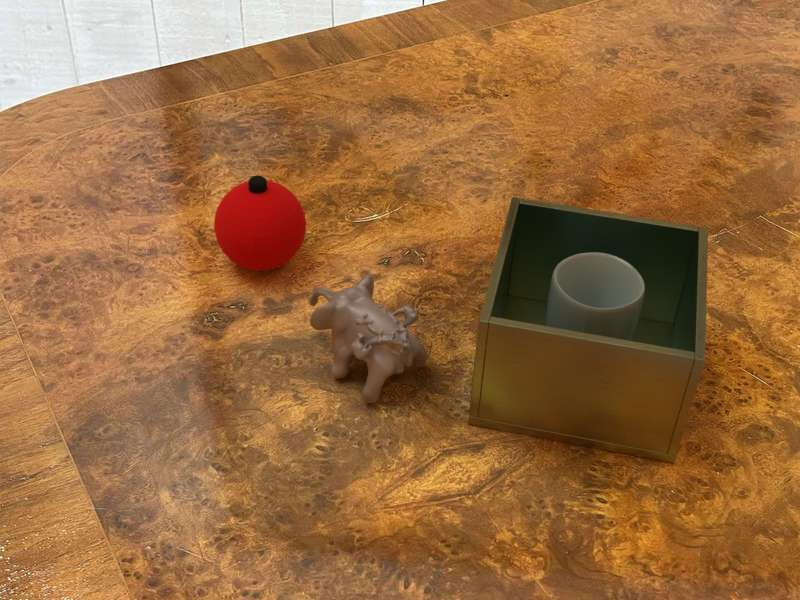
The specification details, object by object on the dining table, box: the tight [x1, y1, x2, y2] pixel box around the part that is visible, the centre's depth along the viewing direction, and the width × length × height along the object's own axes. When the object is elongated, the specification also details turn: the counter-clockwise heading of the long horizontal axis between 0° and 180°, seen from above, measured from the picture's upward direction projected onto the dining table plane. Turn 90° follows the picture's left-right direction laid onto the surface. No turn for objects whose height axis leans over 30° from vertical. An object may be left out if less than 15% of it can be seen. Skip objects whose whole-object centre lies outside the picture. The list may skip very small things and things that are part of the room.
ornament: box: [213, 175, 307, 272], centre depth 105 cm, size 9×9×10 cm
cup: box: [545, 252, 645, 341], centre depth 93 cm, size 8×8×10 cm
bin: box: [467, 196, 709, 464], centre depth 93 cm, size 18×18×12 cm
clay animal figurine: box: [308, 273, 428, 404], centre depth 95 cm, size 9×12×8 cm
